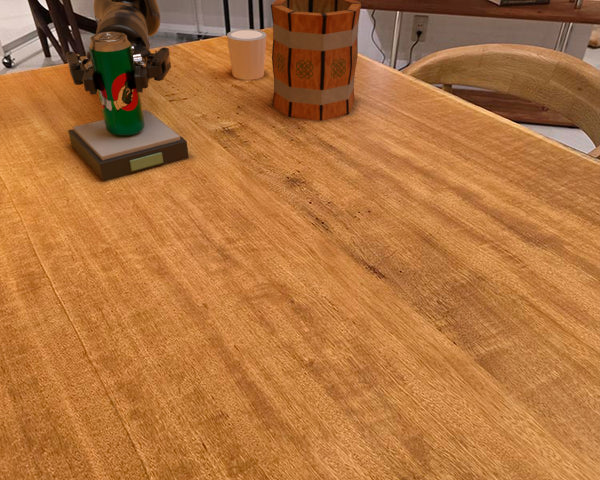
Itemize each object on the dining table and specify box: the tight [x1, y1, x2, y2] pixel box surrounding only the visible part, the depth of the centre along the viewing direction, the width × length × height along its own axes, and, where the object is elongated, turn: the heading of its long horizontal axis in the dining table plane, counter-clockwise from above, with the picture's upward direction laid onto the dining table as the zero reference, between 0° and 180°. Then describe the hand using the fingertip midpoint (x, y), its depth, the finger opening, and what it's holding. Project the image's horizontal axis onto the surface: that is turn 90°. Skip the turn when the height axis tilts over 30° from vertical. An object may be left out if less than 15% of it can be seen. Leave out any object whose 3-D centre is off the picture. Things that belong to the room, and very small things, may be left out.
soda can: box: [88, 32, 145, 137], centre depth 75 cm, size 5×5×12 cm
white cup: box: [226, 28, 267, 81], centre depth 104 cm, size 7×7×7 cm
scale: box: [67, 109, 189, 182], centre depth 80 cm, size 12×12×3 cm
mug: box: [270, 0, 362, 122], centre depth 93 cm, size 20×14×15 cm
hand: (115, 85), depth 73 cm, fingers closed on soda can, 5 cm apart
